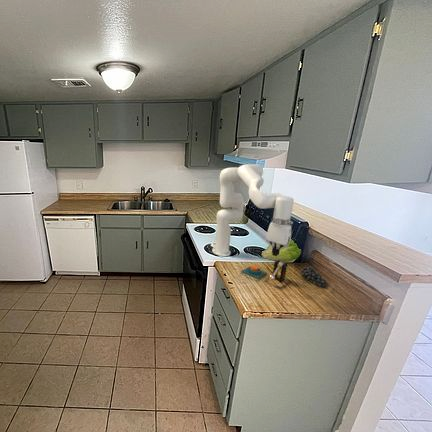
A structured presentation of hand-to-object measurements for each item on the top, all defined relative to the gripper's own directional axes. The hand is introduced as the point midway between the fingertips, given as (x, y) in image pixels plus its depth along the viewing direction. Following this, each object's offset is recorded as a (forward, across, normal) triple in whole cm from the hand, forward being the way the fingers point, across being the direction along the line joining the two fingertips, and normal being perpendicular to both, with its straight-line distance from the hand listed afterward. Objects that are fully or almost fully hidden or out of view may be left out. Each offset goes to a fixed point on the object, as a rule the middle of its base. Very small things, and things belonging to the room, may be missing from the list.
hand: (275, 254), depth 124 cm
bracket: (+19, 0, -9) cm, 21 cm away
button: (+15, +12, -5) cm, 20 cm away
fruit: (+19, -13, -22) cm, 32 cm away
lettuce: (+19, +12, -39) cm, 45 cm away
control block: (+19, +12, -5) cm, 23 cm away
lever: (+12, 0, -5) cm, 13 cm away
